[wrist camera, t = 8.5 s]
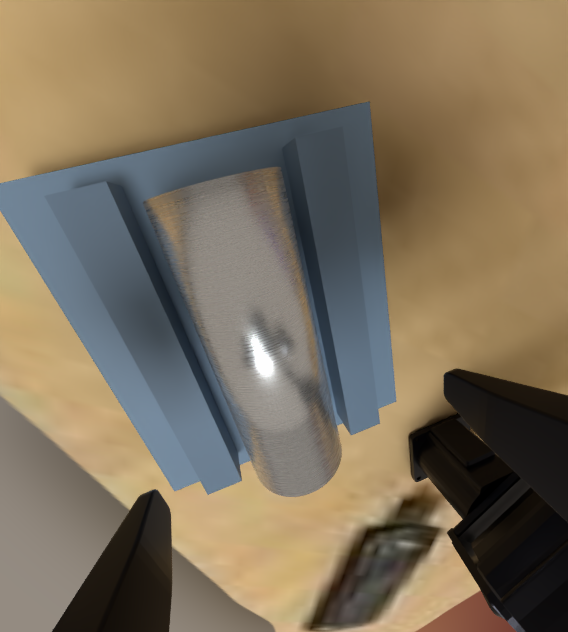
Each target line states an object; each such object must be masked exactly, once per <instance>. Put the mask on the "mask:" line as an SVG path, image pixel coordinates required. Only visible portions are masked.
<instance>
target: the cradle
mask: <svg viewBox="0 0 568 632" xmlns="http://www.w3.org/2000/svg"><path fill="white" fill-rule="evenodd" d="M270 167H281V170H282V175H283V180H284V184H285V189H286V193H287V198H288V203H289V207H290V212H291V216H292V221H293V226H294V230H295V235H296V240H297V244H298V249H299V253H300V258H301V263H302V267H303V272H304V276H305V281H306V286H307V290H308V295H309V299H310V304H311V309H312V313H313V318H314V323H315V327H316V332H317V336H318V341H319V346H320V350H321V355H322V359H323V364H324V369H325V373H326V378H327V382H328V387H329V392H330V396H331V401H332V405H333V410H334V415H335V419H336V424H337V425H339V424H342V423H343V424H344V425H345V427H346V428H347V430H348V431H349V433H350V434H351V435H353V434H356V433H358V432H360V431H363V430H365V429H368V428H370V427H372V426H375V425H377V424H380V420H379V412H378V409H379V408H381V407H384V406H386V405H389V404H391V403H393V402H396V393H395V381H394V370H393V359H392V348H391V336H390V325H389V314H388V303H387V292H386V280H385V269H384V258H383V247H382V236H381V224H380V213H379V202H378V191H377V179H376V168H375V157H374V146H373V135H372V123H371V112H370V101H369V102H365V103H360V104H356V105H351V106H347V107H342V108H338V109H333V110H329V111H324V112H320V113H315V114H311V115H306V116H302V117H297V118H293V119H288V120H284V121H279V122H275V123H270V124H266V125H261V126H256V127H252V128H247V129H243V130H238V131H234V132H229V133H225V134H220V135H216V136H211V137H207V138H202V139H198V140H193V141H189V142H184V143H180V144H175V145H171V146H166V147H162V148H157V149H153V150H148V151H144V152H139V153H135V154H130V155H126V156H121V157H117V158H112V159H108V160H103V161H99V162H94V163H90V164H85V165H81V166H76V167H72V168H67V169H63V170H58V171H54V172H49V173H45V174H40V175H36V176H31V177H27V178H22V179H18V180H13V181H9V182H4V183H0V211H1V213H2V214H3V216H4V217H5V219H6V221H7V222H8V224H9V225H10V227H11V229H12V230H13V232H14V233H15V235H16V237H17V238H18V240H19V242H20V243H21V245H22V246H23V248H24V250H25V251H26V253H27V254H28V256H29V258H30V259H31V261H32V262H33V264H34V266H35V267H36V269H37V271H38V272H39V274H40V275H41V277H42V279H43V280H44V282H45V283H46V285H47V287H48V288H49V290H50V291H51V293H52V295H53V296H54V298H55V300H56V301H57V303H58V304H59V306H60V308H61V309H62V311H63V312H64V314H65V316H66V317H67V319H68V320H69V322H70V324H71V325H72V327H73V329H74V330H75V332H76V333H77V335H78V337H79V338H80V340H81V341H82V343H83V345H84V346H85V348H86V349H87V351H88V353H89V354H90V356H91V358H92V359H93V361H94V362H95V364H96V366H97V367H98V369H99V370H100V372H101V374H102V375H103V377H104V379H105V380H106V382H107V383H108V385H109V387H110V388H111V390H112V391H113V393H114V395H115V396H116V398H117V399H118V401H119V403H120V404H121V406H122V408H123V409H124V411H125V412H126V414H127V416H128V417H129V419H130V420H131V422H132V424H133V425H134V427H135V428H136V430H137V432H138V433H139V435H140V437H141V438H142V440H143V441H144V443H145V445H146V446H147V448H148V449H149V451H150V453H151V454H152V456H153V457H154V459H155V461H156V462H157V464H158V466H159V467H160V469H161V470H162V472H163V474H164V475H165V477H166V478H167V480H168V482H169V483H170V485H171V486H172V488H173V490H174V491H177V490H179V489H182V488H184V487H186V486H189V485H191V484H194V483H196V482H199V481H201V483H202V485H203V487H204V489H205V490H206V492H207V494H208V495H209V494H211V493H213V492H216V491H218V490H221V489H223V488H225V487H228V486H230V485H233V484H235V483H237V482H240V481H242V479H241V471H240V465H241V464H243V463H246V462H248V461H251V460H250V458H249V455H248V453H247V451H246V448H245V446H244V444H243V441H242V439H241V436H240V434H239V432H238V429H237V427H236V424H235V422H234V420H233V417H232V415H231V413H230V410H229V408H228V405H227V403H226V401H225V398H224V396H223V393H222V391H221V389H220V386H219V384H218V382H217V379H216V377H215V374H214V372H213V370H212V367H211V365H210V363H209V360H208V358H207V355H206V353H205V351H204V348H203V346H202V343H201V341H200V339H199V336H198V334H197V332H196V329H195V327H194V324H193V322H192V320H191V317H190V315H189V312H188V310H187V308H186V305H185V303H184V301H183V298H182V296H181V293H180V291H179V289H178V286H177V284H176V282H175V279H174V277H173V274H172V272H171V270H170V267H169V265H168V262H167V260H166V258H165V255H164V253H163V251H162V248H161V246H160V243H159V241H158V239H157V236H156V234H155V231H154V229H153V227H152V224H151V222H150V220H149V217H148V215H147V212H146V210H145V208H144V205H143V202H144V201H145V200H148V199H150V198H152V197H155V196H158V195H161V194H164V193H167V192H170V191H173V190H176V189H180V188H183V187H187V186H190V185H194V184H197V183H201V182H205V181H209V180H213V179H217V178H221V177H225V176H229V175H234V174H238V173H243V172H247V171H252V170H258V169H263V168H270Z"/></svg>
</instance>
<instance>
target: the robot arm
mask: <svg viewBox="0 0 568 632" xmlns="http://www.w3.org/2000/svg"><path fill="white" fill-rule="evenodd" d="M444 396H445V398H446V399H447V401H448V402H449V403H450V404H451V405H452V407H453V408H454V409H455V410H456V411H457V412H458V413H459V414H457V415H455V416H453V417H450V418H448V419H446V420H443V421H441V422H439V423H436V424H434V425H432V426H429V427H427V428H425V429H422V430H420V431H418V432H415V433H413V434H412V435H411V436H410V438H409V441H410V455H411V470H412V478H413V479H414V481H415V482H419V481H421V480H423V479H426V478H429V479H430V480H431V481H432V483H433V484H434V485H435V486H436V487H437V489H438V490H439V491H440V492H441V493H442V495H443V496H444V497H445V498H446V499H447V501H448V502H449V503H450V504H451V505H452V507H453V508H454V509H455V510H456V511H457V513H458V514H459V515H460V516H461V518H462V519H463V520H462V521H461V522H460V523H459V524H458V525H456V526H455V527H454V528H451V529H450V530H449V531H448V532H447V534H448V535H449V537H450V539H451V540H452V544H453V546H454V547H455V549H456V551H457V552H458V554H459V555H460V557H461V559H462V560H463V562H464V563H465V565H466V567H467V568H468V570H469V571H470V573H471V575H472V576H473V578H474V579H475V581H476V583H477V584H478V586H479V588H480V590H481V592H482V593H483V595H484V597H485V599H486V601H487V603H488V605H489V607H490V608H491V610H492V611H493V612H494V614H495V615H497V616H499V617H502V618H504V619H505V620H506V621H507V622H508V623H509V624H510V625H511V626H512V627H513V628H514V629H515V630H516V631H517V632H568V395H564V394H560V393H555V392H551V391H547V390H543V389H539V388H535V387H531V386H527V385H523V384H519V383H515V382H511V381H507V380H502V379H498V378H494V377H490V376H486V375H482V374H478V373H474V372H470V371H466V370H462V369H453V370H451V371H448V372H446V373H445V374H444ZM470 427H471V428H472V429H473V431H474V432H475V433H476V434H477V435H478V436H479V437H480V438H481V439H482V440H483V441H482V440H481V439H480V438H478V437H477V436H476V435H475V434H474V433H472V432H471V431H470ZM171 597H172V539H171V512H170V509H169V506H168V505H167V503H166V502H165V500H164V499H163V497H162V496H161V494H160V493H159V491H158V490H151V491H149V492H146V493H144V494H142V495H140V496H139V497H138V499H137V500H136V502H135V503H134V505H133V506H132V508H131V509H130V511H129V513H128V514H127V516H126V518H125V519H124V520H123V522H122V523H121V525H120V527H119V528H118V530H117V531H116V533H115V534H114V536H113V537H112V539H111V541H110V542H109V544H108V545H107V547H106V548H105V550H104V551H103V553H102V555H101V556H100V558H99V559H98V561H97V562H96V564H95V565H94V567H93V569H92V570H91V572H90V574H89V575H88V576H87V578H86V579H85V581H84V583H83V584H82V586H81V587H80V589H79V590H78V592H77V593H76V595H75V597H74V598H73V600H72V601H71V603H70V604H69V606H68V607H67V609H66V611H65V612H64V614H63V615H62V617H61V618H60V620H59V622H58V623H57V625H56V626H55V628H54V629H53V631H52V632H169V625H170V611H171Z"/></svg>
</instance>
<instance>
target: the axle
mask: <svg viewBox="0 0 568 632" xmlns="http://www.w3.org/2000/svg"><path fill="white" fill-rule="evenodd" d="M143 205H144V208H145V210H146V212H147V215H148V217H149V220H150V222H151V224H152V227H153V229H154V231H155V234H156V236H157V239H158V241H159V243H160V246H161V248H162V251H163V253H164V255H165V258H166V260H167V262H168V265H169V267H170V270H171V272H172V274H173V277H174V279H175V282H176V284H177V286H178V289H179V291H180V293H181V296H182V298H183V301H184V303H185V305H186V308H187V310H188V312H189V315H190V317H191V320H192V322H193V324H194V327H195V329H196V332H197V334H198V336H199V339H200V341H201V343H202V346H203V348H204V351H205V353H206V355H207V358H208V360H209V363H210V365H211V367H212V370H213V372H214V374H215V377H216V379H217V382H218V384H219V386H220V389H221V391H222V393H223V396H224V398H225V401H226V403H227V405H228V408H229V410H230V413H231V415H232V417H233V420H234V422H235V424H236V427H237V429H238V432H239V434H240V436H241V439H242V441H243V444H244V446H245V448H246V451H247V453H248V455H249V458H250V460H251V463H252V465H253V467H254V470H255V472H256V474H257V477H258V479H259V480H260V482H261V483H262V484H263V486H264V487H266V488H267V489H268V490H270V491H271V492H273V493H275V494H278V495H281V496H287V497H298V496H303V495H307V494H310V493H312V492H314V491H316V490H318V489H320V488H321V487H323V486H324V485H325V484H326V483H327V482H328V481H329V480H330V479H331V478H332V477H333V476H334V474H335V473H336V471H337V469H338V467H339V464H340V461H341V456H342V448H341V442H340V438H339V433H338V429H337V424H336V419H335V415H334V410H333V405H332V401H331V396H330V392H329V387H328V382H327V378H326V373H325V369H324V364H323V359H322V355H321V350H320V346H319V341H318V336H317V332H316V327H315V323H314V318H313V313H312V309H311V304H310V299H309V295H308V290H307V286H306V281H305V276H304V272H303V267H302V263H301V258H300V253H299V249H298V244H297V240H296V235H295V230H294V226H293V221H292V216H291V212H290V207H289V203H288V198H287V193H286V189H285V184H284V180H283V175H282V170H281V167H270V168H263V169H258V170H252V171H247V172H243V173H238V174H234V175H229V176H225V177H221V178H217V179H213V180H209V181H205V182H201V183H197V184H194V185H190V186H187V187H183V188H180V189H176V190H173V191H170V192H167V193H164V194H161V195H158V196H155V197H152V198H150V199H148V200H145V201H144V202H143Z"/></svg>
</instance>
